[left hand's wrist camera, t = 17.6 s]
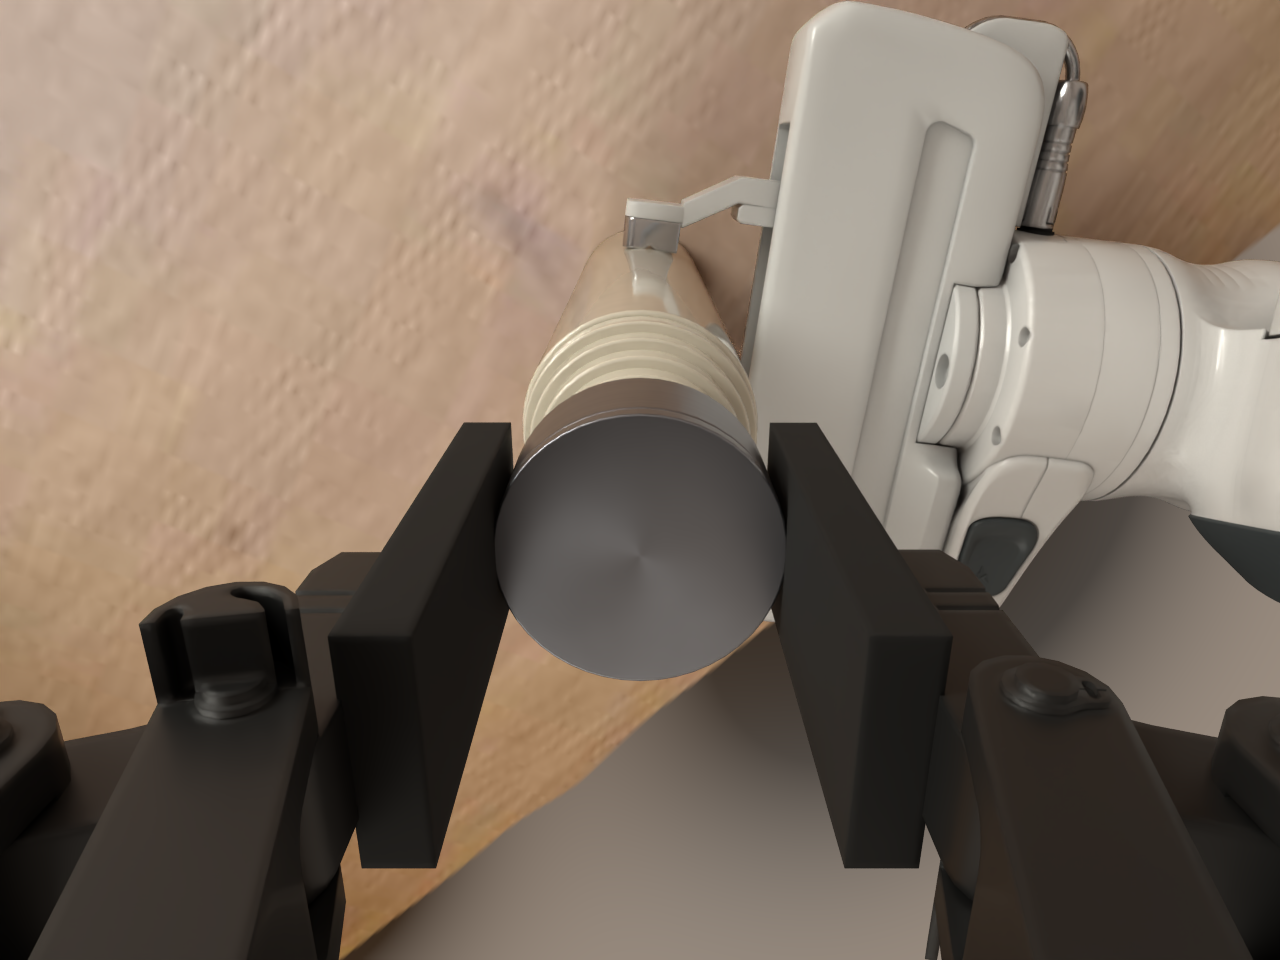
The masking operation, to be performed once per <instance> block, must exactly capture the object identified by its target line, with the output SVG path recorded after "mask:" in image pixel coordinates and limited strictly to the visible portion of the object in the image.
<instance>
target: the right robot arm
mask: <svg viewBox="0 0 1280 960" xmlns="http://www.w3.org/2000/svg"><path fill="white" fill-rule="evenodd" d="M1063 62H1064V64H1065V80H1059V78H1060V74H1061V70H1062V66H1063ZM1079 80H1080V61H1079V57H1078V53H1077V50H1076V48H1075V46H1074V44H1073V42H1072V40H1071V39H1070V38H1069V36H1068V35H1067V34H1066V33H1065V31H1063V30H1062V29H1060V28H1059V27H1057V26H1056V25H1054V24H1051V23H1048V22H1046V21H1040V20H1033V19H1025V18H1018V17H1010V16H1003V15H999V16H990V17H986V18H982V19H980V20H977V21H975V22H973V23H971V24H970V25H968V26H967V27H965V28H963V27H960V26H956V25H953V24H950V23H947V22H944V21H940V20H937V19H933V18H930V17H926V16H923V15H919V14H915V13H911V12H907V11H903V10H899V9H895V8H890V7H885V6H879V5H874V4H869V3H863V2H855V1H843V2H838V3H834V4H832V5H830V6H828V7H826V8H825V9H823V10H821V11H820V12H818V13H817V14H816V15H814V16H813V17H812V18H811V19H810V20H809V21H807V22H806V23H805V24H804V25H803V26H802V27H801V28H800V29H799V30H798V31H797V33H796V34H795V35H794V37H793V40H792V43H791V48H790V54H789V60H788V66H787V72H786V79H785V85H784V91H783V97H782V104H781V110H780V116H779V122H778V129H777V135H776V141H775V147H774V154H773V160H772V166H771V172H770V179H763V178H754V177H746V176H737V175H735V176H733V177H731V178H728V179H726V180H724V181H722V182H720V183H717V184H715V185H713V186H711V187H709V188H706V189H704V190H702V191H700V192H697V193H695V194H693V195H691V196H689V197H686V198H684V199H682V201H681V203H673V202H665V201H656V200H648V199H640V198H627V205H626V214H625V224H624V235H623V246H624V247H628V248H634V249H645V248H646V247H648V246H651V247H652V248H653V249H655V250H657V251H661V252H667V253H676V254H677V248H678V241H679V234H680V228H683V227H686V226H688V225H690V224H693V223H695V222H697V221H700V220H702V219H704V218H706V217H709V216H711V215H713V214H716V213H718V212H720V211H723V210H725V209H727V208H729V207H732V210H731V215H732V217H733V219H735V220H736V221H738V222H739V223H741V224H748V225H755V226H762V229H761V235H760V241H759V247H758V254H757V260H756V266H755V272H754V279H753V285H752V291H751V297H750V304H749V310H748V316H747V322H746V329H745V335H744V341H743V347H742V353H741V360H740V361H741V363H742V365H743V367H744V370H745V372H746V374H747V376H748V379H749V381H750V383H751V385H752V389H753V392H754V396H755V399H756V405H757V413H758V432H757V444H756V446H757V448H758V450H759V452H760V454H761V457H762V459H763V462H764V464H765V467H766V469H767V463H768V445H769V427H770V423H817V424H818V426H819V427H820V429H821V430H822V432H823V433H824V435H825V436H826V438H827V440H828V441H829V443H830V444H831V446H832V447H833V449H834V451H835V452H836V454H837V455H838V457H839V458H840V460H841V461H842V463H843V465H844V466H845V468H846V469H847V471H848V472H849V474H850V476H851V477H852V479H853V480H854V482H855V483H856V485H857V487H858V488H859V490H860V491H861V493H862V494H863V496H864V497H865V499H866V501H867V502H868V504H869V505H870V507H871V508H872V510H873V512H874V513H875V515H876V516H877V518H878V519H879V521H880V522H881V524H882V526H883V527H884V529H885V530H886V532H887V533H888V535H889V537H890V538H891V540H892V541H893V543H894V544H895V546H896V548H897V549H939V550H941V551H943V552H944V553H946V554H948V555H949V556H951V557H953V558H954V559H956V560H958V561H959V562H961V563H963V564H964V565H966V566H968V567H969V568H970V569H971V570H972V572H973V573H974V574H975V575H976V577H977V578H978V579H979V581H980V582H981V583H982V584H983V586H984V587H985V588H986V589H985V591H986V592H989V593H990V595H991V596H992V597H993V598H994V600H995V601H996V602H997V604H998V605H999V607H1000V606H1001V605H1002V603H1003V602H1004V601H1005V599H1006V598H1007V596H1008V595H1009V593H1010V592H1011V590H1012V589H1013V587H1014V586H1015V584H1016V583H1017V581H1018V580H1019V578H1020V577H1021V576H1022V574H1023V573H1024V571H1025V570H1026V568H1027V567H1028V566H1029V564H1030V563H1031V561H1032V560H1033V559H1034V557H1035V556H1036V554H1037V553H1038V552H1039V550H1040V549H1041V548H1042V546H1043V545H1044V544H1045V542H1046V541H1047V540H1048V538H1049V537H1050V536H1051V535H1052V533H1053V532H1054V531H1055V530H1056V528H1057V527H1058V526H1059V525H1060V523H1061V522H1062V521H1063V520H1064V519H1065V518H1066V516H1067V515H1068V514H1069V513H1070V512H1071V511H1072V510H1073V508H1074V507H1075V506H1076V505H1077V504H1078V503H1079V502H1080V501H1100V500H1107V499H1113V498H1120V497H1127V496H1148V497H1153V498H1157V499H1160V500H1163V501H1165V502H1167V503H1169V504H1172V505H1174V506H1176V507H1179V508H1181V509H1184V510H1188V511H1191V514H1190V515H1189V518H1190V520H1191V521H1192V523H1193V524H1194V526H1195V527H1196V529H1197V530H1198V531H1199V533H1200V534H1201V535H1202V536H1203V537H1204V539H1205V540H1206V541H1207V542H1208V543H1209V544H1210V545H1211V546H1212V547H1213V548H1214V549H1215V550H1216V551H1217V552H1218V553H1219V554H1220V555H1221V556H1222V557H1223V558H1224V559H1225V560H1226V561H1227V562H1228V563H1229V564H1230V565H1231V566H1232V567H1233V568H1234V569H1235V570H1236V571H1237V572H1238V573H1239V574H1240V575H1241V576H1242V577H1243V578H1244V579H1245V580H1246V581H1247V582H1248V583H1249V584H1251V585H1252V586H1253V587H1254V588H1256V589H1257V590H1258V591H1260V592H1262V593H1263V594H1265V595H1266V596H1268V597H1270V598H1272V599H1273V600H1275V601H1277V602H1279V603H1280V262H1278V261H1270V260H1252V259H1249V260H1237V261H1231V262H1225V263H1220V264H1214V265H1200V264H1193V263H1189V262H1186V261H1183V260H1181V259H1178V258H1176V257H1175V256H1173V255H1171V254H1169V253H1167V252H1164V251H1162V250H1159V249H1156V248H1152V247H1148V246H1144V245H1140V244H1131V243H1122V242H1115V241H1107V240H1099V239H1090V238H1082V237H1074V236H1065V235H1058V234H1054V232H1052V230H1053V226H1054V222H1055V219H1056V216H1057V211H1058V208H1059V204H1060V200H1061V196H1062V193H1063V189H1064V185H1065V180H1066V176H1067V173H1066V171H1067V170H1068V164H1067V162H1069V157H1070V155H1069V153H1070V152H1071V148H1072V146H1071V144H1072V143H1073V140H1074V137H1075V133H1076V130H1077V129H1079V127H1080V125H1081V123H1082V120H1083V117H1084V113H1085V109H1086V105H1087V99H1088V83H1086V82H1083V81H1079ZM1015 226H1018V227H1020V228H1017V230H1015ZM763 621H770V622H775V620H774V617H773V613H772V610H771V609H770V611H769V613H768V614H767V616H766V617H765V619H764V620H763Z"/></svg>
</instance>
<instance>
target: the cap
mask: <svg viewBox="0 0 1280 960" xmlns="http://www.w3.org/2000/svg"><path fill="white" fill-rule="evenodd" d="M786 535H787V533H786V524H785V519H784V515H783V512H782V509H781V506H780V502H779V500H778V497H777V495H776V492H775V490H774V487H773V485H772V482H771V479H770V477H769V474H768V472H767V469H766V467H765V464H764V462H763V459H762V457H761V454H760V452H759V450H758V448H757V446H756V444H755V442H754V440H753V439H752V437H751V436H750V434H749V433H748V431H747V430H746V428H745V427H744V426H743V425H742V424H741V423H740V421H739V420H738V419H737V418H736V417H735V416H734V415H733V414H732V413H731V412H730V411H728V410H727V409H726V408H725V407H724V406H723V405H721V404H720V403H718V402H717V401H715V400H714V399H712V398H711V397H709V396H708V395H706V394H704V393H702V392H700V391H698V390H695V389H693V388H691V387H688V386H685V385H682V384H679V383H676V382H671V381H666V380H661V379H651V378H629V379H619V380H614V381H609V382H604V383H601V384H598V385H595V386H592V387H589V388H587V389H585V390H583V391H581V392H579V393H577V394H575V395H573V396H571V397H570V398H568V399H566V400H565V401H563V402H562V403H560V404H559V405H558V406H556V407H555V408H554V409H553V410H552V411H551V412H550V413H548V414H547V415H546V416H545V417H544V418H543V419H542V421H541V422H540V423H539V424H538V425H537V426H536V428H535V429H534V430H533V432H532V433H531V435H530V436H529V438H528V439H527V441H526V442H525V445H524V447H523V449H522V451H521V453H520V455H519V457H518V460H517V462H516V465H515V468H514V470H513V473H512V475H511V478H510V480H509V483H508V485H507V488H506V490H505V493H504V496H503V498H502V501H501V503H500V506H499V510H498V513H497V516H496V520H495V526H494V543H495V558H496V573H497V581H498V584H499V588H500V590H501V592H502V595H503V597H504V599H505V601H506V604H507V606H508V607H509V609H510V610H511V612H512V614H513V615H514V617H515V618H516V620H517V621H518V622H519V624H520V625H521V626H522V627H523V629H524V630H525V631H526V632H527V633H528V634H529V635H530V636H531V637H532V638H533V639H534V640H535V641H536V642H537V643H538V644H539V645H540V646H542V647H543V648H544V649H546V650H547V651H548V652H550V653H551V654H552V655H554V656H555V657H557V658H559V659H561V660H562V661H564V662H566V663H568V664H570V665H572V666H574V667H576V668H579V669H581V670H584V671H586V672H589V673H593V674H596V675H600V676H603V677H608V678H614V679H620V680H633V681H647V680H661V679H666V678H672V677H677V676H681V675H684V674H688V673H691V672H694V671H697V670H699V669H702V668H704V667H706V666H709V665H711V664H713V663H714V662H716V661H718V660H720V659H721V658H723V657H725V656H727V655H728V654H729V653H731V652H732V651H733V650H735V649H736V648H737V647H739V646H740V645H741V644H742V643H743V642H744V641H745V640H746V639H748V638H749V637H750V636H751V635H752V634H753V633H754V631H755V630H756V629H757V628H758V627H759V625H760V624H761V623H762V622H763V620H764V619H765V617H766V616H767V614H768V613H769V611H770V609H771V608H772V606H773V604H774V602H775V600H776V598H777V595H778V593H779V591H780V589H781V585H782V582H783V578H784V567H785V552H786Z"/></svg>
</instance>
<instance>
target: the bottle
mask: <svg viewBox="0 0 1280 960" xmlns="http://www.w3.org/2000/svg"><path fill="white" fill-rule="evenodd" d="M623 235H624V231H622V232H619V233H616V234H614V235H612V236H610V237H609V238H607V239H606V240H604V241H603V242H602V243H601V244H600V245H599V246H598V247H597V248H596V249H595V250H594V251H593V253H592V254H591V256H590V257H589V259H588V261H587V263H586V265H585V267H584V269H583V271H582V273H581V275H580V277H579V280H578V282H577V284H576V286H575V288H574V290H573V292H572V294H571V297H570V299H569V301H568V303H567V305H566V307H565V309H564V311H563V314H562V316H561V318H560V320H559V322H558V324H557V326H556V328H555V331H554V333H553V335H552V337H551V339H550V341H549V343H548V345H547V348H546V350H545V352H544V354H543V356H542V358H541V360H540V362H539V365H538V367H537V369H536V371H535V373H534V375H533V377H532V379H531V382H530V384H529V387H528V391H527V394H526V397H525V403H524V408H523V425H522V426H523V439H524V445H525V442H526V441H527V439H528V438H529V436H530V435H531V433H532V432H533V430H534V429H535V428H536V426H537V425H538V424H539V423H540V422H541V421H542V419H543V418H544V417H545V416H546V415H547V414H548V413H550V412H551V411H552V410H553V409H554V408H555V407H556V406H558V405H559V404H560V403H562V402H563V401H565V400H566V399H568V398H570V397H571V396H573V395H575V394H577V393H579V392H581V391H583V390H585V389H587V388H589V387H592V386H595V385H598V384H601V383H604V382H609V381H614V380H619V379H629V378H651V379H661V380H666V381H671V382H676V383H679V384H682V385H685V386H688V387H691V388H693V389H695V390H698V391H700V392H702V393H704V394H706V395H708V396H709V397H711V398H712V399H714V400H715V401H717V402H718V403H720V404H721V405H723V406H724V407H725V408H726V409H727V410H728V411H730V412H731V413H732V414H733V415H734V416H735V417H736V418H737V419H738V420H739V421H740V423H741V424H742V425H743V426H744V427H745V428H746V430H747V431H748V433H749V434H750V436H751V437H752V439H753V440H754V442H755V444H757V432H758V413H757V405H756V399H755V396H754V392H753V389H752V385H751V383H750V381H749V379H748V376H747V374H746V372H745V370H744V367H743V365H742V363H741V361H740V359H739V357H738V355H737V352H736V350H735V348H734V346H733V344H732V342H731V340H730V338H729V335H728V333H727V331H726V329H725V327H724V325H723V323H722V320H721V318H720V316H719V314H718V312H717V310H716V308H715V306H714V303H713V301H712V299H711V297H710V295H709V293H708V291H707V289H706V286H705V284H704V282H703V280H702V278H701V276H700V274H699V271H698V269H697V267H696V265H695V263H694V261H693V259H692V257H691V256H690V254H689V253H688V252H687V250H686V249H685V248H684V247H683V246H682V245H681V244H680V243H679V242H678V248H677V254H676V253H667V252H661V251H657V250H655V249H653V248H652V247H651V246H648V247H646V248H645V249H634V248H628V247H624V246H623Z"/></svg>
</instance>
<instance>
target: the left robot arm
mask: <svg viewBox="0 0 1280 960" xmlns="http://www.w3.org/2000/svg"><path fill="white" fill-rule="evenodd" d="M767 472H768V474H769V477H770V479H771V482H772V485H773V487H774V490H775V492H776V495H777V497H778V500H779V502H780V506H781V509H782V512H783V515H784V519H785V524H786V533H787V535H786V552H785V567H784V578H783V582H782V585H781V589H780V591H779V593H778V595H777V598H776V600H775V602H774V604H773V606H772V608H771V610H772V613H773V617H774V620H775V624H776V627H777V631H778V634H779V638H780V641H781V645H782V649H783V652H784V655H785V659H786V663H787V666H788V670H789V673H790V677H791V680H792V684H793V687H794V691H795V695H796V698H797V702H798V705H799V709H800V712H801V716H802V719H803V723H804V726H805V730H806V733H807V737H808V741H809V744H810V747H811V751H812V755H813V758H814V762H815V765H816V769H817V772H818V776H819V779H820V783H821V786H822V790H823V793H824V797H825V801H826V804H827V808H828V811H829V815H830V818H831V822H832V825H833V829H834V832H835V836H836V839H837V843H838V846H839V850H840V854H841V857H842V861H843V864H844V868H919V864H920V857H921V850H922V843H923V837H924V830H925V823H926V826H927V828H928V831H929V833H930V835H931V838H932V840H933V842H934V845H935V847H936V849H937V852H938V854H939V857H940V859H941V860H940V866H939V872H938V878H937V885H936V891H935V897H934V904H933V910H932V916H931V922H930V929H929V935H928V941H927V948H926V955H925V959H928V960H937V957H938V951H939V946H940V950H941V958H942V960H1280V698H1276V697H1265V696H1261V697H1254V698H1248V699H1242V700H1238V701H1237V702H1236V703H1234V704H1233V705H1232V706H1230V707H1229V708H1228V709H1227V710H1226V712H1225V715H1224V719H1223V722H1222V726H1221V729H1220V732H1219V736H1218V738H1217V737H1211V736H1206V735H1201V734H1195V733H1190V732H1185V731H1180V730H1174V729H1169V728H1164V727H1159V726H1153V725H1149V724H1145V723H1141V722H1137V721H1133V720H1131V719H1130V717H1129V715H1128V713H1127V711H1126V709H1125V707H1124V705H1123V703H1122V702H1121V701H1120V699H1119V698H1118V697H1117V696H1116V695H1115V693H1114V692H1113V691H1112V690H1111V689H1110V688H1109V686H1107V685H1106V684H1104V683H1102V682H1101V681H1099V680H1098V679H1096V678H1095V677H1093V676H1091V675H1090V674H1088V673H1087V672H1085V671H1082V670H1080V669H1077V668H1075V667H1072V666H1069V665H1067V664H1064V663H1062V662H1059V661H1055V660H1049V659H1045V658H1040V657H1039V656H1038V655H1037V653H1036V652H1035V651H1034V650H1033V648H1032V647H1031V646H1030V644H1029V643H1028V642H1027V641H1026V639H1025V638H1024V637H1023V636H1022V634H1021V633H1020V632H1019V630H1018V629H1017V628H1016V627H1015V625H1014V624H1013V623H1012V621H1011V620H1010V619H1009V618H1008V616H1007V615H1006V614H1005V613H1004V611H1003V610H999V605H998V604H997V602H996V601H995V600H994V598H993V597H992V596H991V595H990V593H989V592H986V591H985V589H986V588H985V587H984V586H983V584H982V583H981V582H980V581H979V579H978V578H977V577H976V575H975V574H974V573H973V572H972V570H971V569H970V568H969V567H968V566H966V565H964V564H963V563H961V562H959V561H958V560H956V559H954V558H953V557H951V556H949V555H948V554H946V553H944V552H943V551H941V550H939V549H897V548H896V546H895V544H894V543H893V541H892V540H891V538H890V537H889V535H888V533H887V532H886V530H885V529H884V527H883V526H882V524H881V522H880V521H879V519H878V518H877V516H876V515H875V513H874V512H873V510H872V508H871V507H870V505H869V504H868V502H867V501H866V499H865V497H864V496H863V494H862V493H861V491H860V490H859V488H858V487H857V485H856V483H855V482H854V480H853V479H852V477H851V476H850V474H849V472H848V471H847V469H846V468H845V466H844V465H843V463H842V461H841V460H840V458H839V457H838V455H837V454H836V452H835V451H834V449H833V447H832V446H831V444H830V443H829V441H828V440H827V438H826V436H825V435H824V433H823V432H822V430H821V429H820V427H819V426H818V424H817V423H770V427H769V445H768V463H767ZM512 473H513V453H512V435H511V423H463V425H462V426H461V428H460V430H459V431H458V433H457V434H456V436H455V437H454V439H453V441H452V442H451V444H450V445H449V447H448V448H447V450H446V451H445V453H444V455H443V456H442V458H441V459H440V461H439V462H438V464H437V466H436V467H435V469H434V470H433V472H432V473H431V475H430V477H429V478H428V480H427V481H426V483H425V484H424V486H423V487H422V489H421V491H420V492H419V494H418V495H417V497H416V498H415V500H414V502H413V503H412V505H411V506H410V508H409V509H408V511H407V512H406V514H405V516H404V517H403V519H402V520H401V522H400V523H399V525H398V527H397V528H396V530H395V531H394V533H393V534H392V536H391V538H390V539H389V541H388V542H387V544H386V545H385V547H384V548H383V550H382V552H341V553H340V554H338V555H336V556H335V557H333V558H331V559H330V560H328V561H326V562H325V563H323V564H322V565H320V566H318V567H317V568H315V569H313V570H312V571H311V572H310V573H309V575H308V576H307V577H306V579H305V580H304V581H303V582H302V584H301V585H300V586H299V588H298V589H297V590H296V594H295V593H293V592H292V591H290V590H289V589H288V588H286V587H285V586H281V585H276V584H271V583H267V582H233V583H227V584H221V585H215V586H210V587H205V588H202V589H199V590H196V591H193V592H190V593H187V594H184V595H181V596H178V597H176V598H174V599H172V600H170V601H168V602H167V603H165V604H163V605H161V606H159V607H157V608H156V609H154V610H153V611H152V612H151V613H150V614H149V615H148V616H147V617H146V618H145V619H144V620H143V621H142V622H140V623H139V627H140V631H141V635H142V640H143V644H144V648H145V652H146V657H147V661H148V665H149V669H150V674H151V678H152V682H153V686H154V690H155V695H156V699H157V703H158V704H157V706H156V708H155V710H154V712H153V714H152V716H151V718H150V720H149V722H148V724H147V725H144V726H140V727H135V728H131V729H127V730H122V731H116V732H111V733H106V734H101V735H95V736H90V737H85V738H80V739H74V740H69V741H64V740H63V737H62V733H61V730H60V726H59V723H58V719H57V716H56V714H55V713H54V712H53V711H51V710H50V709H49V708H48V707H46V706H45V705H44V704H40V703H34V702H28V701H21V700H16V701H5V702H0V960H339V952H340V944H341V936H342V928H343V920H344V912H345V904H346V899H345V892H344V885H343V878H342V872H341V866H340V863H341V860H342V858H343V856H344V853H345V851H346V848H347V846H348V844H349V841H350V839H351V836H352V834H353V832H354V829H355V827H356V833H357V839H358V846H359V853H360V860H361V866H362V868H436V866H437V863H438V859H439V856H440V852H441V849H442V845H443V842H444V838H445V834H446V831H447V827H448V824H449V820H450V817H451V813H452V810H453V806H454V803H455V799H456V796H457V792H458V788H459V785H460V781H461V778H462V774H463V771H464V767H465V764H466V760H467V757H468V753H469V750H470V746H471V743H472V739H473V735H474V732H475V728H476V725H477V721H478V718H479V714H480V711H481V707H482V704H483V700H484V697H485V693H486V689H487V686H488V682H489V679H490V675H491V672H492V668H493V665H494V661H495V658H496V654H497V651H498V647H499V643H500V640H501V636H502V633H503V629H504V626H505V622H506V619H507V615H508V612H509V607H508V606H507V604H506V601H505V599H504V597H503V595H502V592H501V590H500V588H499V584H498V581H497V573H496V558H495V543H494V526H495V520H496V516H497V513H498V510H499V506H500V503H501V501H502V498H503V496H504V493H505V490H506V488H507V485H508V483H509V480H510V478H511V475H512Z"/></svg>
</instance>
